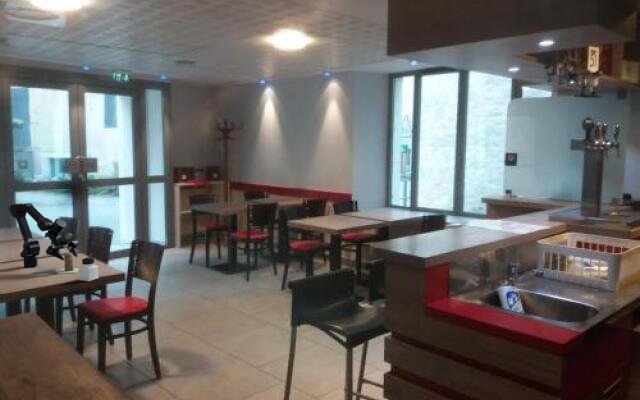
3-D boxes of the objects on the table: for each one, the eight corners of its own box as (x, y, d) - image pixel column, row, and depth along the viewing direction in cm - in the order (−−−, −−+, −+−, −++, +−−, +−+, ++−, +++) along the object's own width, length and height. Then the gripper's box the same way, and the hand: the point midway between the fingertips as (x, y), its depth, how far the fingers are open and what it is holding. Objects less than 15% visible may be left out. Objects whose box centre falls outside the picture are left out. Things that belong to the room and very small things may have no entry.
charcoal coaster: (33, 273, 285) (33, 272, 284) (38, 269, 294) (38, 268, 294) (52, 272, 287) (52, 271, 287) (57, 268, 297) (57, 267, 297)
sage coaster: (57, 273, 283) (57, 272, 283) (62, 269, 293) (61, 268, 293) (76, 272, 286) (76, 271, 286) (80, 269, 296) (80, 268, 296)
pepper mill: (65, 271, 286) (65, 254, 285) (64, 270, 290) (63, 253, 289) (74, 270, 289) (73, 253, 288) (72, 269, 293) (71, 252, 292)
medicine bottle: (98, 278, 274) (98, 256, 273) (89, 281, 268) (88, 259, 267) (88, 277, 277) (87, 255, 276) (78, 280, 270) (77, 258, 269)
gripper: (48, 231, 280) (63, 252, 277) (75, 226, 297) (90, 246, 294) (38, 244, 284) (53, 265, 281) (66, 239, 301) (81, 258, 298)
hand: (70, 258), depth 288 cm, fingers open, 9 cm apart
